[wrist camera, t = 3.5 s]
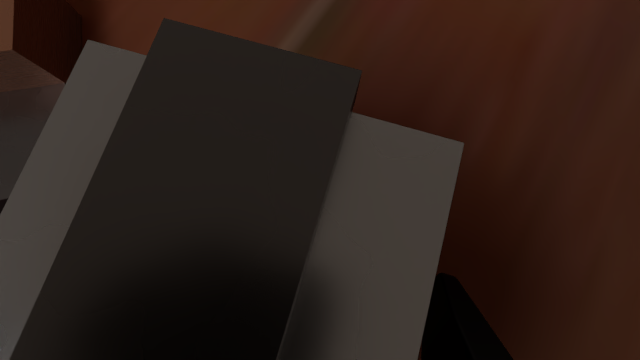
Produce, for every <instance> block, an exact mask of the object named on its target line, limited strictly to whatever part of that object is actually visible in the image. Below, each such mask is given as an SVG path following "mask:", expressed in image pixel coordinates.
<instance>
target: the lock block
mask: <svg viewBox="0 0 640 360" xmlns="http://www.w3.org/2000/svg"><path fill="white" fill-rule="evenodd" d="M361 73H362V71H361V70H358V69H354V68H350V67H346V66H342V65H339V64H335V63H331V62H327V61H324V60H320V59H316V58H312V57H309V56H305V55H301V54H297V53H293V52H290V51H286V50H282V49H278V48H275V47H271V46H267V45H263V44H260V43H256V42H252V41H248V40H245V39H241V38H237V37H233V36H229V35H226V34H222V33H218V32H214V31H211V30H207V29H203V28H199V27H196V26H192V25H188V24H184V23H180V22H177V21H173V20H169V19H165V18H164V19H163V21H162V24H161V26H160V28H159V30H158V32H157V35H156V37H155V39H154V41H153V43H152V46H151V48H150V50H149V52H148V54H147V56H146V55H142V54H138V53H135V52H131V51H128V50H124V49H120V48H117V47H113V46H109V45H106V44H102V43H98V42H95V41H91V40H87V42H86V44H85V46H84V48H83V50H82V52H81V54H80V56H79V58H78V60H77V62H76V64H75V66H74V68H73V70H72V72H71V74H70V76H69V78H68V80H67V82H66V84H65V86H64V88H63V90H62V92H61V94H60V96H59V98H58V100H57V102H56V104H55V106H54V108H53V110H52V112H51V114H50V116H49V118H48V120H47V122H46V124H45V126H44V128H43V130H42V132H41V134H40V136H39V138H38V140H37V142H36V144H35V146H34V148H33V150H32V152H31V154H30V156H29V158H28V160H27V162H26V164H25V166H24V168H23V170H22V172H21V174H20V176H19V178H18V180H17V182H16V184H15V186H14V188H13V190H12V192H11V194H10V196H9V198H8V200H7V202H6V204H5V206H4V208H3V210H2V212H1V214H0V360H417V359H418V354H419V350H420V345H421V341H422V336H423V331H424V327H425V322H426V317H427V313H428V308H429V304H430V299H431V294H432V290H433V285H434V280H435V276H436V271H437V267H438V262H439V257H440V253H441V248H442V243H443V239H444V234H445V230H446V225H447V220H448V216H449V211H450V207H451V202H452V197H453V193H454V188H455V183H456V179H457V174H458V170H459V165H460V160H461V156H462V151H463V146H464V143H462V142H459V141H455V140H452V139H448V138H444V137H441V136H437V135H433V134H430V133H426V132H422V131H419V130H415V129H411V128H408V127H404V126H401V125H397V124H393V123H390V122H386V121H382V120H379V119H375V118H371V117H368V116H364V115H361V114H357V113H353V112H352V110H353V107H354V103H355V99H356V95H357V91H358V86H359V82H360V78H361Z"/></svg>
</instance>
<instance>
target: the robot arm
mask: <svg viewBox="0 0 640 360" xmlns="http://www.w3.org/2000/svg"><path fill="white" fill-rule="evenodd" d="M7 200H8V198H6V199H3V200H0V214H1V212H2V210H3V208H4V206H5V204H6V202H7ZM421 360H513V358H512V357H511V355H510V354H509V353H508V351H507V350H506V348H505V347H504V345H503V344H502V343H501V341H500V340H499V338H498V337H497V335H496V334H495V332H494V331H493V330H492V328H491V327H490V325H489V324H488V322H487V321H486V320H485V318H484V317H483V315H482V314H481V312H480V311H479V309H478V308H477V307H476V305H475V304H474V302H473V301H472V299H471V298H470V297H469V295H468V294H467V292H466V291H465V289H464V288H463V286H462V285H461V284H460V282H459V281H458V279H457V278H456V277H454V276H451V275H448V274H445V273H439V274H438V275H437V276H436V278H435V280H434V285H433V290H432V294H431V299H430V304H429V308H428V313H427V317H426V322H425V327H424V331H423V336H422V352H421Z"/></svg>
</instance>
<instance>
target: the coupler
mask: <svg viewBox="0 0 640 360" xmlns="http://www.w3.org/2000/svg"><path fill="white" fill-rule="evenodd" d="M81 52H82V45H81V15H80V14H79V13H78V12H77V11H76V10H75V9H74V8H72V7H71V6H70V5H69V4H68V3H67V2H66V1H65V0H0V200H3V199H6V198H9V196H10V194H11V192H12V190H13V188H14V186H15V184H16V182H17V180H18V178H19V176H20V174H21V172H22V170H23V168H24V166H25V164H26V162H27V160H28V158H29V156H30V154H31V152H32V150H33V148H34V146H35V144H36V142H37V140H38V138H39V136H40V134H41V132H42V130H43V128H44V126H45V124H46V122H47V120H48V118H49V116H50V114H51V112H52V110H53V108H54V106H55V104H56V102H57V100H58V98H59V96H60V94H61V92H62V90H63V88H64V86H65V84H66V82H67V80H68V78H69V76H70V74H71V72H72V70H73V68H74V66H75V64H76V62H77V60H78V58H79V56H80V54H81Z"/></svg>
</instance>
